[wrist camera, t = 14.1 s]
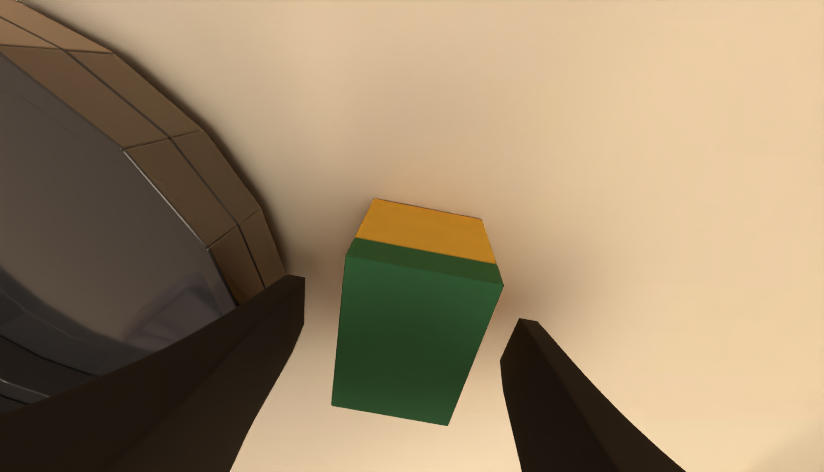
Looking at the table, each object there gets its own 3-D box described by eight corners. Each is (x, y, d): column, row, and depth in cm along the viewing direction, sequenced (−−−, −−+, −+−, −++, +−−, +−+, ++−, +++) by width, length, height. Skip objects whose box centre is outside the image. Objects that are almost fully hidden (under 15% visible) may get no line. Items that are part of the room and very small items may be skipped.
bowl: (292, 419, 18) (261, 493, 14) (-35, 362, 17) (-139, 425, 14) (294, 54, 9) (222, 43, 6) (-350, -80, 9) (-791, -168, 6)
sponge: (444, 337, 14) (448, 426, 10) (357, 321, 14) (330, 406, 10) (482, 219, 11) (505, 285, 8) (373, 197, 11) (345, 255, 8)
